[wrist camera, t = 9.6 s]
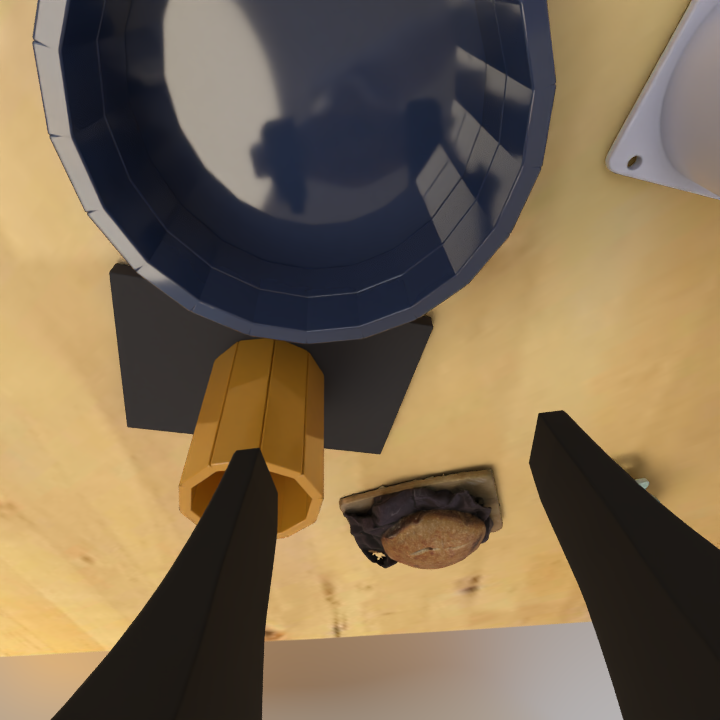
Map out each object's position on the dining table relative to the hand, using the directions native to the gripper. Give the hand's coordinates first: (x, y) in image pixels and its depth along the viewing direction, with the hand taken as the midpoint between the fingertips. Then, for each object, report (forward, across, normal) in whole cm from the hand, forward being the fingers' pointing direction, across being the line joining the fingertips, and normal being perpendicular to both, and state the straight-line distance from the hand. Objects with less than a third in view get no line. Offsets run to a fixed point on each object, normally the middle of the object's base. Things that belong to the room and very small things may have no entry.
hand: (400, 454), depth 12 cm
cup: (+10, +6, +5) cm, 12 cm away
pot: (+10, +1, -6) cm, 12 cm away
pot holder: (+10, +6, +5) cm, 13 cm away
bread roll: (+10, -2, +20) cm, 23 cm away
